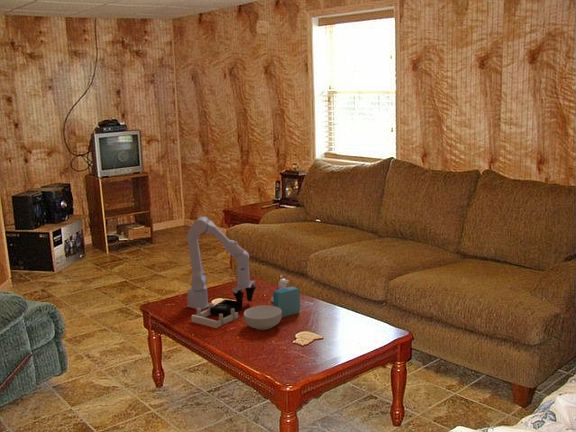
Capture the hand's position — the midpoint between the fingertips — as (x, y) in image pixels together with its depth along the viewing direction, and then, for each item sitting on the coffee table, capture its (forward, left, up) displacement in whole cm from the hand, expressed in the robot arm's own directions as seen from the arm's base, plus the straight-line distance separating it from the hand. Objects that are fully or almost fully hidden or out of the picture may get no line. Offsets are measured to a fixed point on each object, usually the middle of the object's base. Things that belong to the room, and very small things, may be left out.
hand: (244, 303), depth 308 cm
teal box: (+24, +2, -2) cm, 24 cm away
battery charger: (-2, -11, -2) cm, 12 cm away
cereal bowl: (+24, -16, -2) cm, 29 cm away
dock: (0, -21, -1) cm, 21 cm away
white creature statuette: (+12, +15, -2) cm, 19 cm away
